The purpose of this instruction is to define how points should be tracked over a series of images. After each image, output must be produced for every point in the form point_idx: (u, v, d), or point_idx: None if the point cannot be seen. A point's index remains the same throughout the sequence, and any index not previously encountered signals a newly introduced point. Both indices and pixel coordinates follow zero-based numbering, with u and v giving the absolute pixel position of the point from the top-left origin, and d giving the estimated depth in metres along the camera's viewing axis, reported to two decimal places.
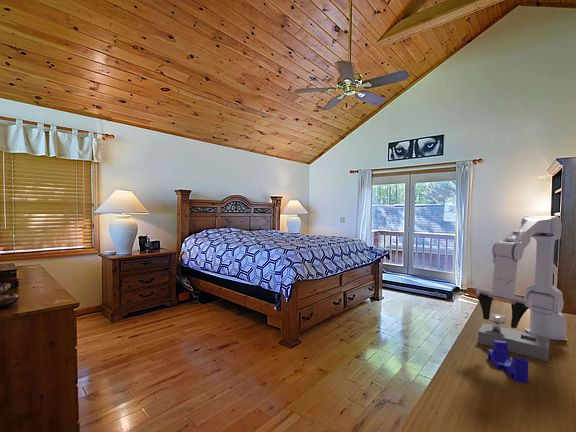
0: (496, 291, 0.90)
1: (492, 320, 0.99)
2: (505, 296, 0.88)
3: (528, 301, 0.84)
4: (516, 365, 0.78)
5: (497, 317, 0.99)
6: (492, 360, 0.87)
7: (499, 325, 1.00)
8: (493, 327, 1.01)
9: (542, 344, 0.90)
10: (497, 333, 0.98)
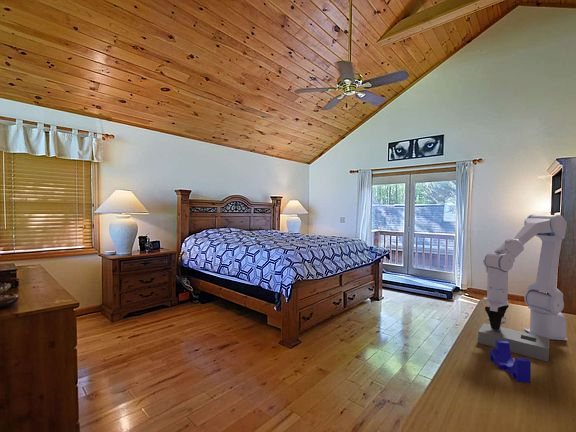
0: None
1: None
2: (487, 301, 1.01)
3: (490, 306, 0.96)
4: (518, 365, 0.78)
5: None
6: (494, 360, 0.87)
7: None
8: None
9: (542, 344, 0.90)
10: (497, 333, 0.98)
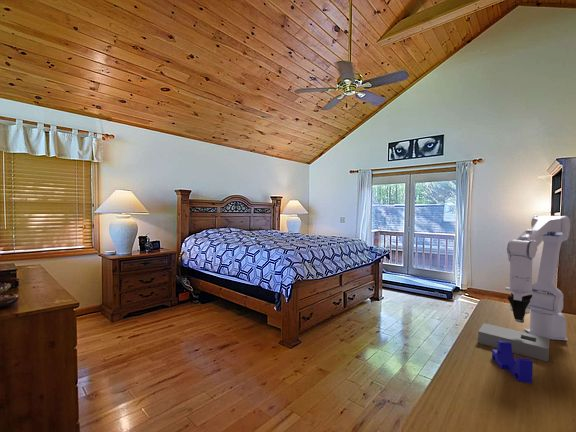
0: None
1: None
2: (510, 290, 0.96)
3: (513, 295, 0.92)
4: (520, 365, 0.78)
5: None
6: (496, 360, 0.87)
7: None
8: None
9: (542, 344, 0.90)
10: (497, 333, 0.98)
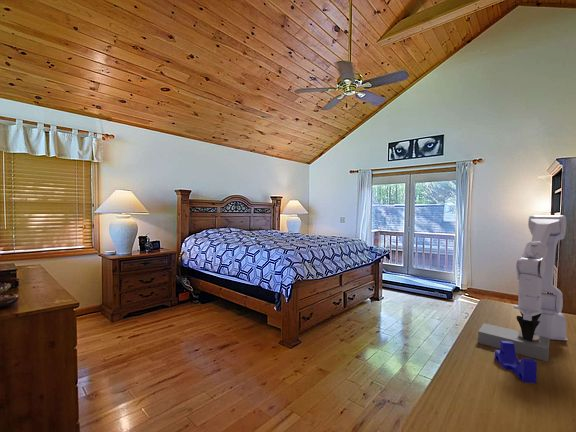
0: None
1: None
2: (518, 309, 0.95)
3: (523, 314, 0.90)
4: (524, 366, 0.77)
5: None
6: (499, 361, 0.87)
7: None
8: None
9: (542, 344, 0.90)
10: (497, 333, 0.98)
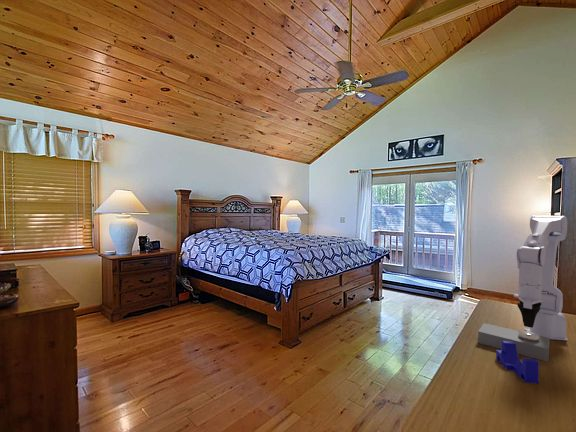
0: None
1: (524, 338, 0.94)
2: (519, 297, 0.95)
3: (523, 302, 0.90)
4: (526, 366, 0.77)
5: (529, 335, 0.94)
6: (501, 361, 0.87)
7: None
8: None
9: (542, 344, 0.90)
10: (497, 333, 0.98)
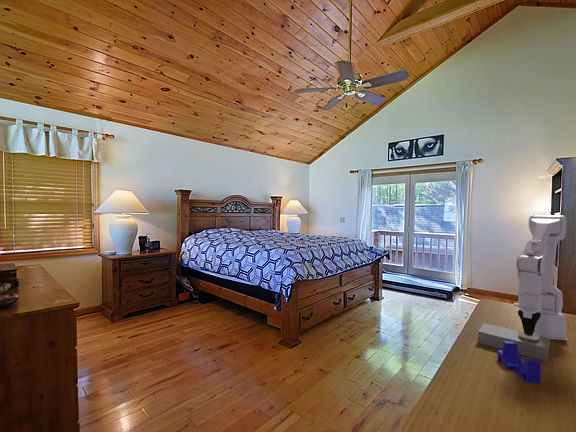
0: None
1: (524, 338, 0.94)
2: (518, 306, 0.95)
3: (523, 312, 0.90)
4: (528, 366, 0.77)
5: (529, 335, 0.94)
6: (502, 361, 0.87)
7: None
8: None
9: (542, 344, 0.90)
10: (497, 333, 0.98)
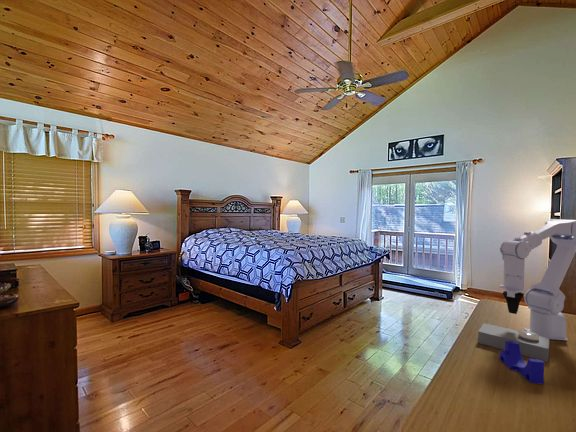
0: None
1: (524, 338, 0.94)
2: (503, 288, 1.03)
3: (507, 292, 0.98)
4: (532, 366, 0.77)
5: (529, 335, 0.94)
6: (505, 361, 0.86)
7: None
8: None
9: (542, 344, 0.90)
10: (497, 333, 0.98)
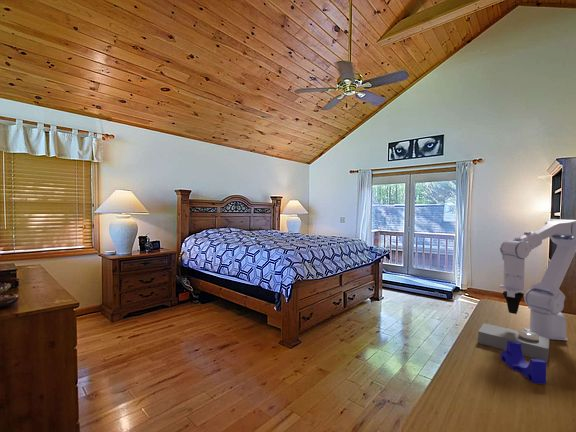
0: None
1: (524, 338, 0.94)
2: (503, 288, 1.03)
3: (507, 292, 0.98)
4: (534, 367, 0.77)
5: (529, 335, 0.94)
6: (506, 361, 0.86)
7: None
8: None
9: (542, 344, 0.90)
10: (497, 333, 0.98)
